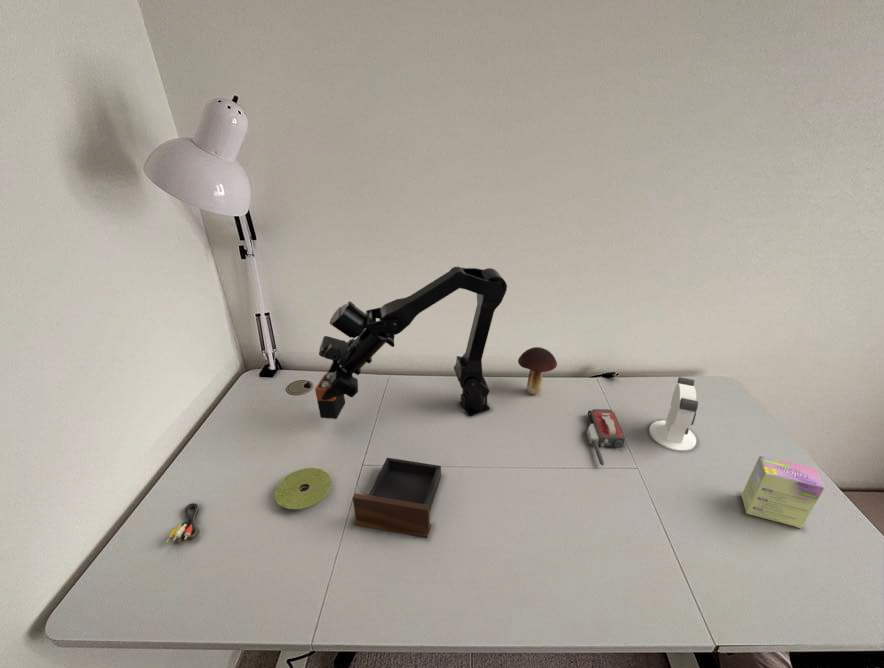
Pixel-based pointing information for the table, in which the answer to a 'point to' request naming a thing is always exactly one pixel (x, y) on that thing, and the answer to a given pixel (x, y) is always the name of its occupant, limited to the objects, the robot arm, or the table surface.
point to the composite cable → (186, 526)
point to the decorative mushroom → (537, 366)
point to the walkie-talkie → (604, 430)
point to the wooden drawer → (399, 498)
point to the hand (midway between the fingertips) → (323, 389)
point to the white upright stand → (678, 419)
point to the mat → (303, 488)
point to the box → (782, 491)
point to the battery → (330, 406)
